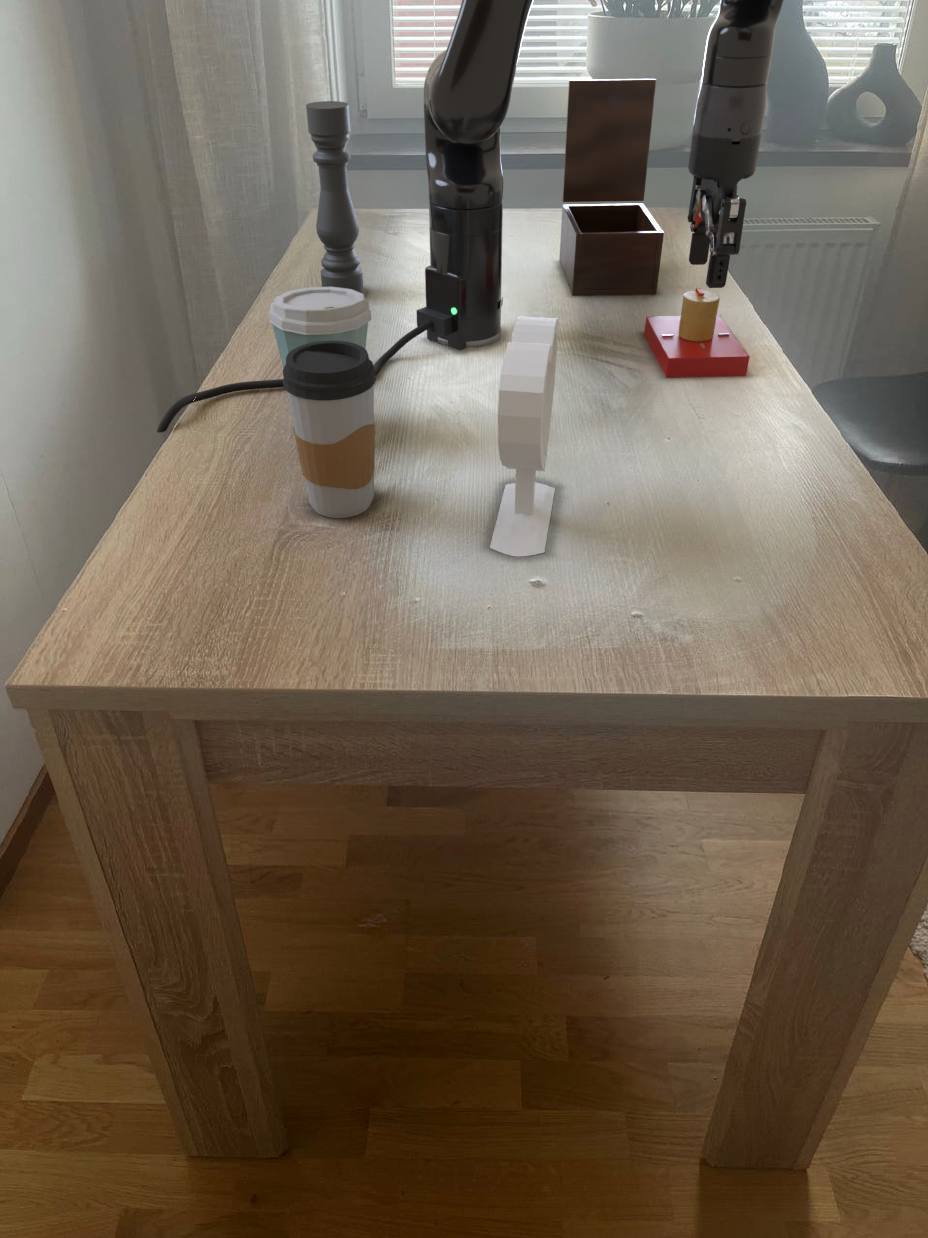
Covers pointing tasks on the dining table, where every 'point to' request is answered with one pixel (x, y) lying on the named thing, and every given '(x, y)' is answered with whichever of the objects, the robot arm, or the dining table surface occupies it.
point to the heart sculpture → (526, 435)
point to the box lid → (607, 139)
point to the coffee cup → (333, 424)
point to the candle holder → (335, 195)
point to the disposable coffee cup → (319, 317)
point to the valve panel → (695, 350)
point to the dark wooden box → (610, 249)
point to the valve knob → (698, 315)
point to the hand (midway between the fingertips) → (706, 275)
